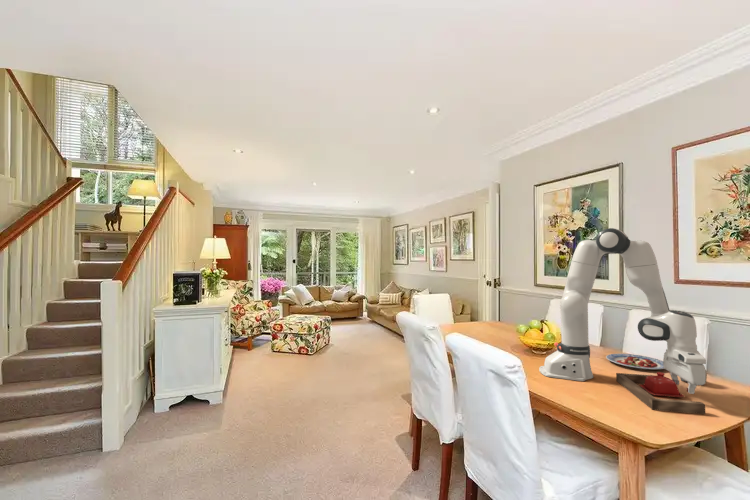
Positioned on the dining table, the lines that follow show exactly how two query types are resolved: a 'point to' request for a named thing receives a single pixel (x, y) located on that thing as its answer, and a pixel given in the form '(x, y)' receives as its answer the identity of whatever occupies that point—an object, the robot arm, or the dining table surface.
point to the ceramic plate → (636, 361)
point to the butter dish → (661, 386)
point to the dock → (654, 403)
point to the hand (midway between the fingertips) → (682, 388)
